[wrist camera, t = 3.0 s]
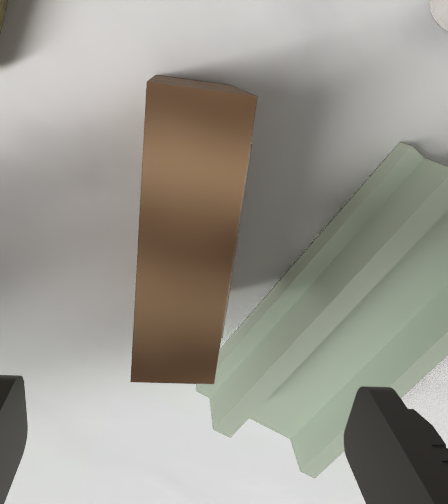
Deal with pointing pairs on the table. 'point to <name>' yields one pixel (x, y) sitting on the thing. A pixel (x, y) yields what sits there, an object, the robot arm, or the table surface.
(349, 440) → the robot arm
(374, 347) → the pale green channel holder
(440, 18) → the wall hook
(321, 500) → the table surface
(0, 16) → the decorative tile
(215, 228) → the wooden picture frame
